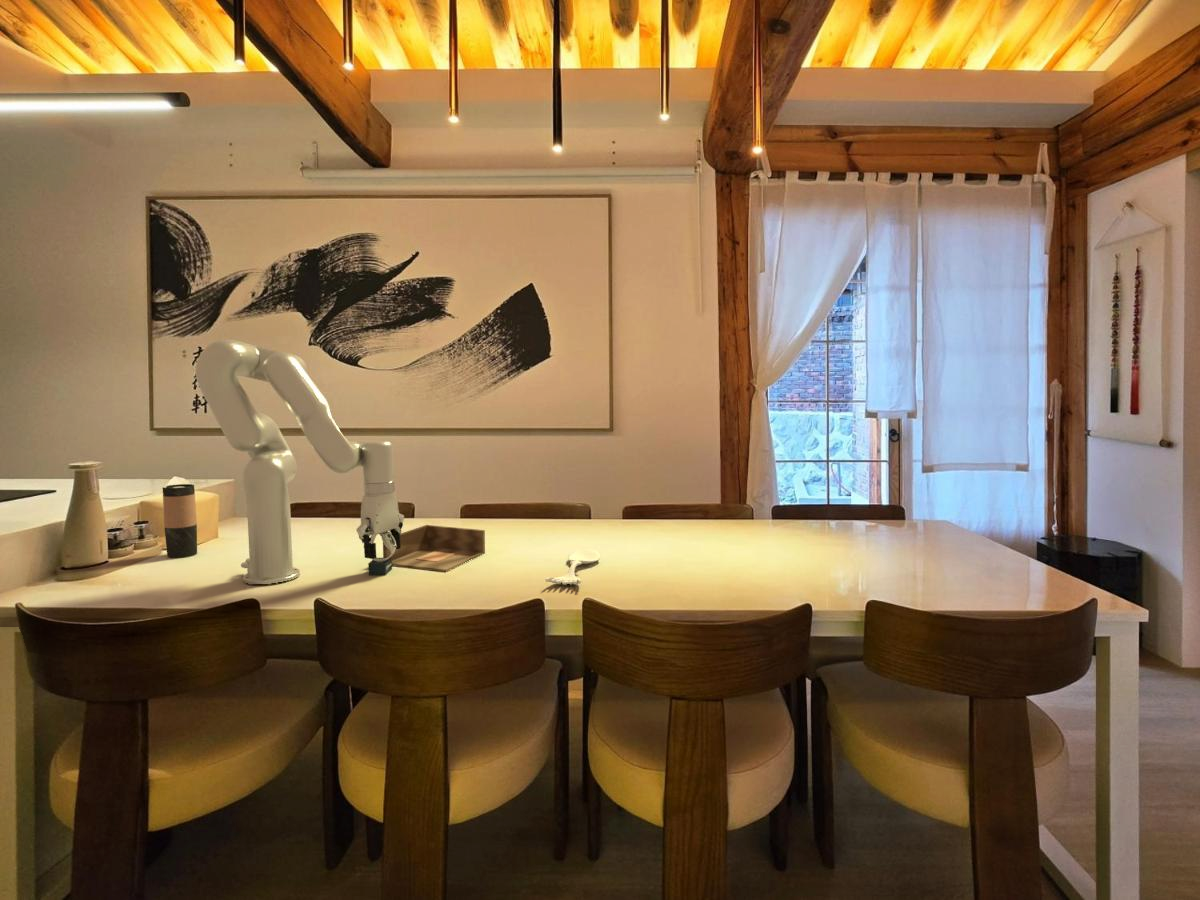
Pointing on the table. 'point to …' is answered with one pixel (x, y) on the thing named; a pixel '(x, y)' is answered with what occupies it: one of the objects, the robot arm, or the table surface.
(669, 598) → the table surface
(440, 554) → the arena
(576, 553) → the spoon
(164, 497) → the travel mug
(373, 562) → the watch
